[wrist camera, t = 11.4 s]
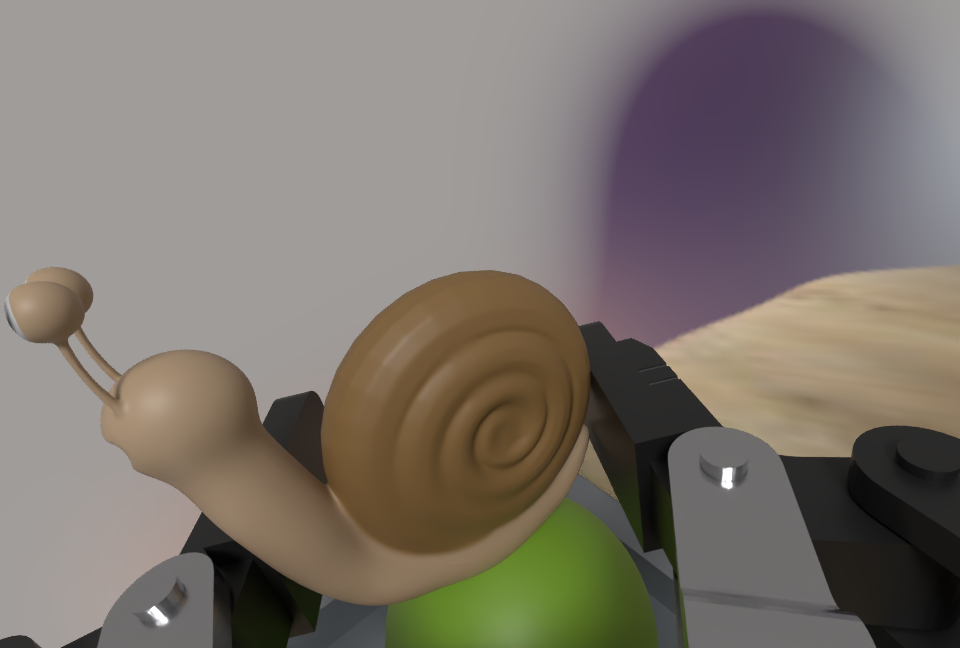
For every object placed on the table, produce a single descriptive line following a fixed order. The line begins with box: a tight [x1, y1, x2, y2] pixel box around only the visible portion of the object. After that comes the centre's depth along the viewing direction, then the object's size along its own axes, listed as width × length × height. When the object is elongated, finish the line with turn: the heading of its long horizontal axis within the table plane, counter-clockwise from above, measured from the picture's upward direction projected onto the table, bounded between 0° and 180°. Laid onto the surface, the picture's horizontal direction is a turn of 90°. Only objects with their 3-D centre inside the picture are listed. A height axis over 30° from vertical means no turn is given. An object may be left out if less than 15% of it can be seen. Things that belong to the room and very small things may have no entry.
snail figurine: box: [4, 267, 658, 648], centre depth 8 cm, size 5×6×12 cm
